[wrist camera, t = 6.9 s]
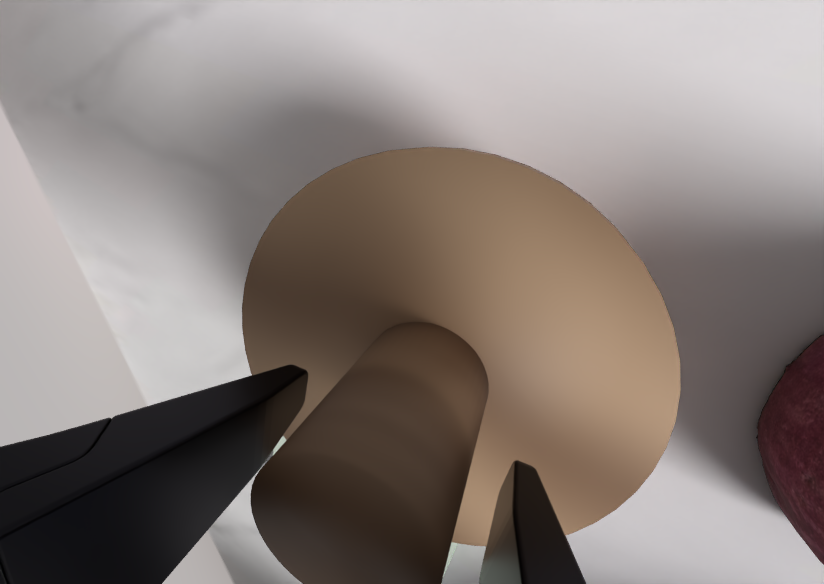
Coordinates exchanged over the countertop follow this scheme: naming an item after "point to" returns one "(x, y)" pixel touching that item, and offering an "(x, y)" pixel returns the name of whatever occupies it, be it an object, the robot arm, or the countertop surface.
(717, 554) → the countertop surface
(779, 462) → the vegetable
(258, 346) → the lid
